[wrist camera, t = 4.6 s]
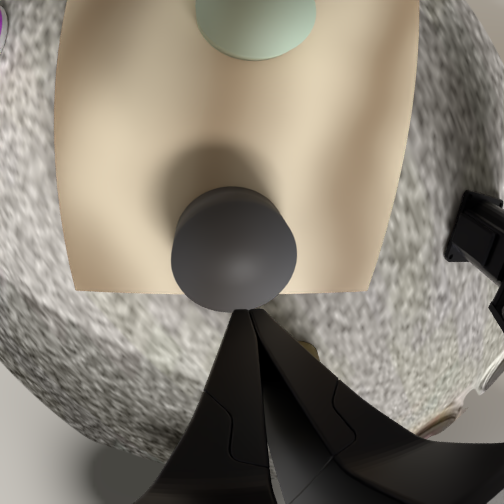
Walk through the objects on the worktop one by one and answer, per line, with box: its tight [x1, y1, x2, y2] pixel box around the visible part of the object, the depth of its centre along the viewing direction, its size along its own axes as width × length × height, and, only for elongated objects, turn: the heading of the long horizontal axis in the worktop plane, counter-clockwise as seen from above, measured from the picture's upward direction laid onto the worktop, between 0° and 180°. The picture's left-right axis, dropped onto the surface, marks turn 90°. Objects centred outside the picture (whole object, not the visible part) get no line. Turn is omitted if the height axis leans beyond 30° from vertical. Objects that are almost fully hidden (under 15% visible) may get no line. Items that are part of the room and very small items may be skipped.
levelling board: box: [54, 0, 419, 312], centre depth 10 cm, size 16×18×4 cm
